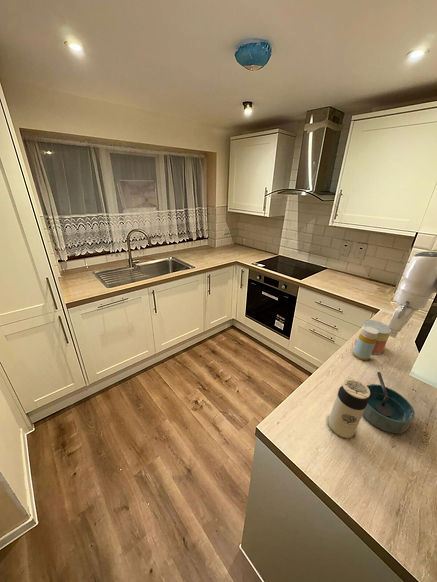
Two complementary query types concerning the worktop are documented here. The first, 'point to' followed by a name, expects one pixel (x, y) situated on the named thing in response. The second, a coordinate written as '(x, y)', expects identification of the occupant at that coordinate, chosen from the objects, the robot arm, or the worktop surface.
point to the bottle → (366, 343)
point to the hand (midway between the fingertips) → (396, 331)
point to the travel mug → (348, 407)
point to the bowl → (395, 402)
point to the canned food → (379, 335)
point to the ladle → (382, 407)
